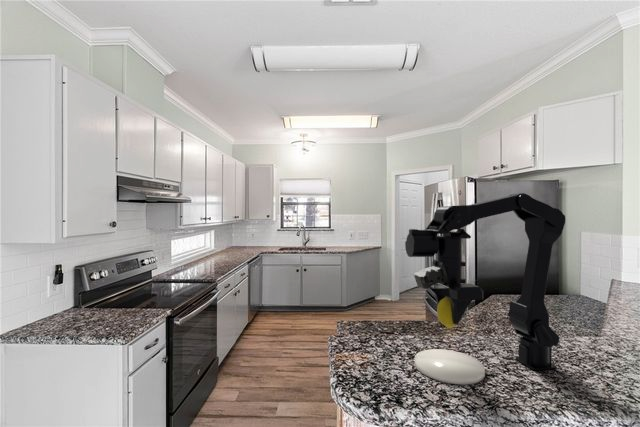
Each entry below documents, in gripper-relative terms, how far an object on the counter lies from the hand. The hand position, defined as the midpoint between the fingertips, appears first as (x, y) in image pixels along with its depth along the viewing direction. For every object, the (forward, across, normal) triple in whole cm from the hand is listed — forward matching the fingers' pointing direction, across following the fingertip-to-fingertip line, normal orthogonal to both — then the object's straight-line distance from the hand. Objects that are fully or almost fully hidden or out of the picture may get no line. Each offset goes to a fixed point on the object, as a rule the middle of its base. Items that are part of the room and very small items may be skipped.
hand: (449, 320), depth 80 cm
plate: (+12, 0, 0) cm, 12 cm away
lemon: (+2, 0, 0) cm, 2 cm away
